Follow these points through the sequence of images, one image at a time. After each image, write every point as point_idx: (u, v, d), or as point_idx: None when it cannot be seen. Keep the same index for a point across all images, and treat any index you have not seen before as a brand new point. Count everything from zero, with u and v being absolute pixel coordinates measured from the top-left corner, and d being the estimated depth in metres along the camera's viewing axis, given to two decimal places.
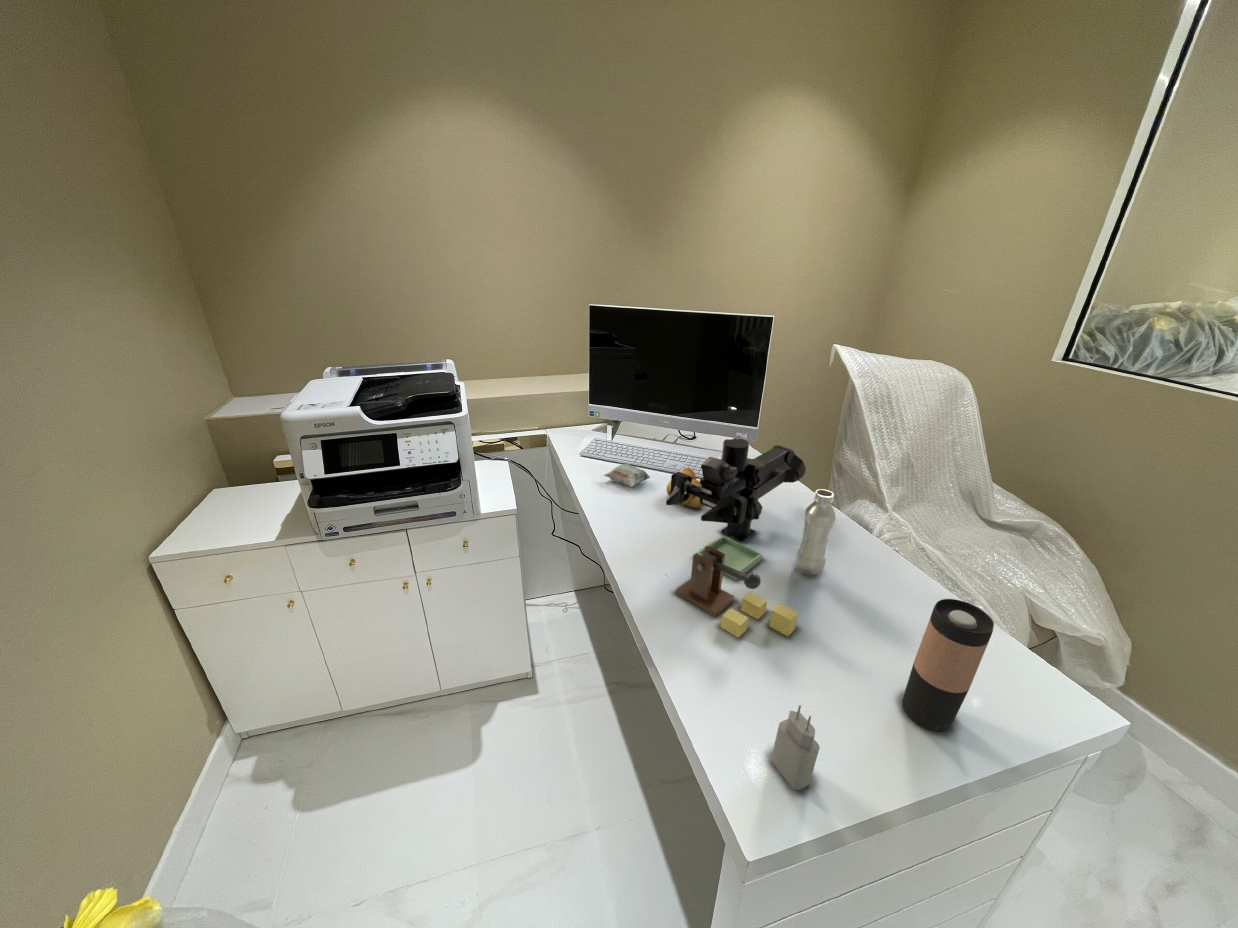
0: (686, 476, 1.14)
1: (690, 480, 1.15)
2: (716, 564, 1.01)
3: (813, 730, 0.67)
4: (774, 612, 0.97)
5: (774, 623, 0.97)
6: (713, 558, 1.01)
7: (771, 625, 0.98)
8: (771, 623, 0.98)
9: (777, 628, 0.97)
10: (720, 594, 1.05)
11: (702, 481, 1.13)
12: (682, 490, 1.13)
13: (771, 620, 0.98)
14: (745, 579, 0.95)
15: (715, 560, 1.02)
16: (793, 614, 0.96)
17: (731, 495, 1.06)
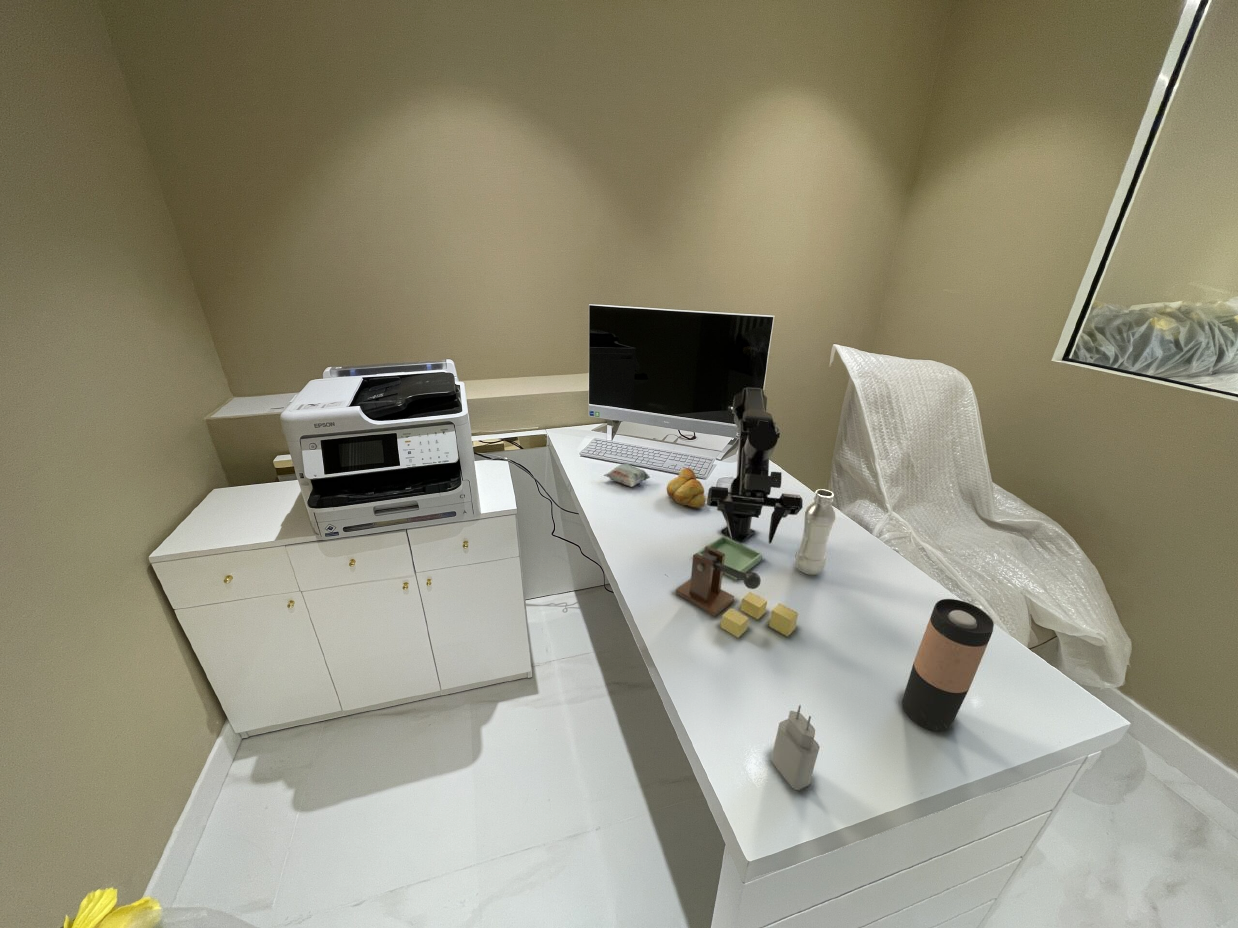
0: (725, 494, 1.02)
1: None
2: (716, 564, 1.01)
3: (813, 730, 0.67)
4: (774, 612, 0.97)
5: (774, 623, 0.97)
6: (713, 558, 1.01)
7: (771, 625, 0.98)
8: (771, 623, 0.98)
9: (777, 628, 0.97)
10: (720, 594, 1.05)
11: (744, 491, 1.03)
12: None
13: (771, 620, 0.98)
14: (745, 579, 0.95)
15: (715, 560, 1.02)
16: (793, 614, 0.96)
17: (787, 502, 1.00)
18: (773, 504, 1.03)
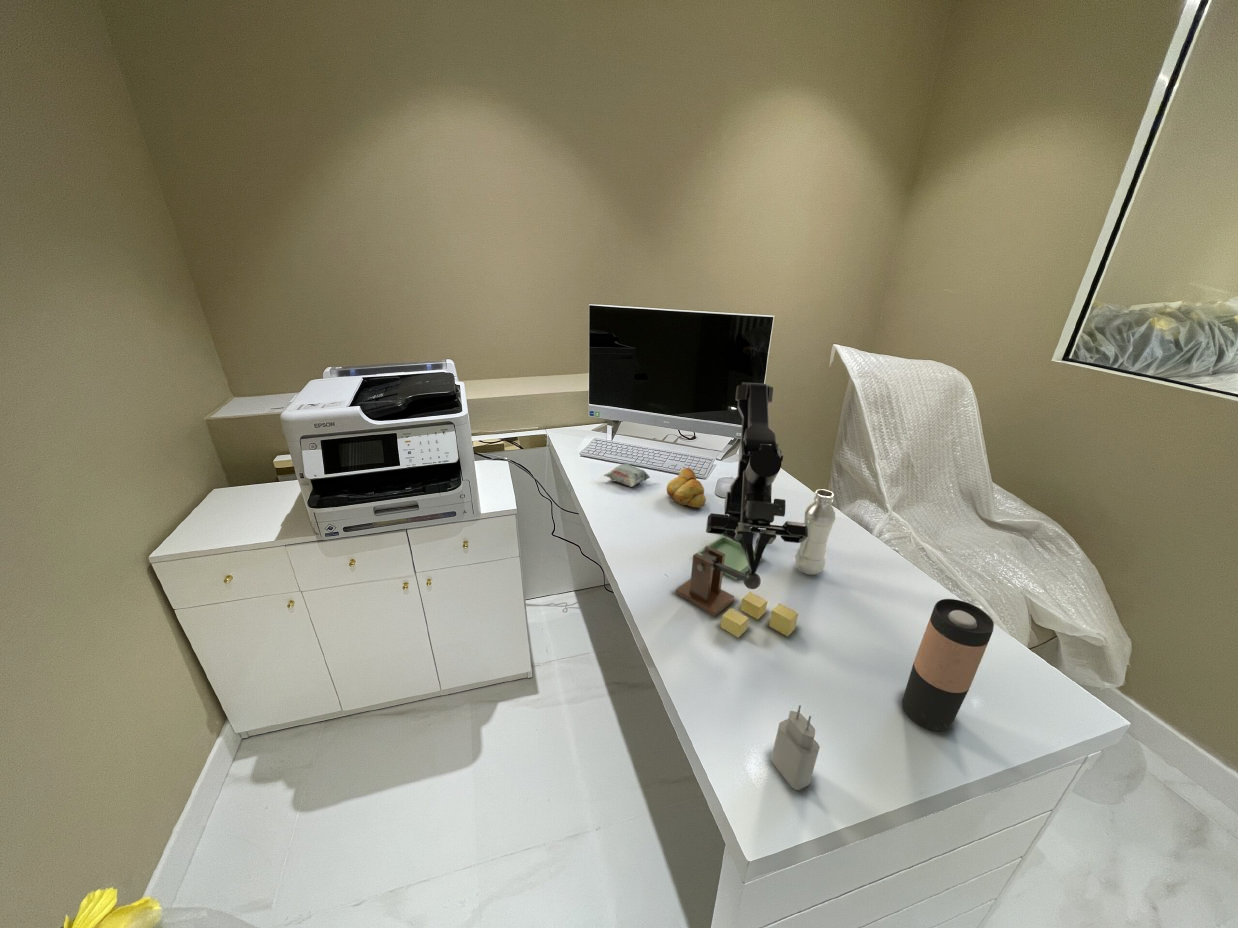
0: (726, 521, 0.96)
1: None
2: (716, 564, 1.01)
3: (813, 730, 0.67)
4: (774, 612, 0.97)
5: (774, 623, 0.97)
6: (713, 558, 1.01)
7: (771, 625, 0.98)
8: (771, 623, 0.98)
9: (777, 628, 0.97)
10: (720, 594, 1.05)
11: (745, 518, 0.96)
12: None
13: (771, 620, 0.98)
14: (745, 579, 0.95)
15: (715, 560, 1.02)
16: (793, 614, 0.96)
17: (792, 531, 0.94)
18: (758, 530, 0.98)
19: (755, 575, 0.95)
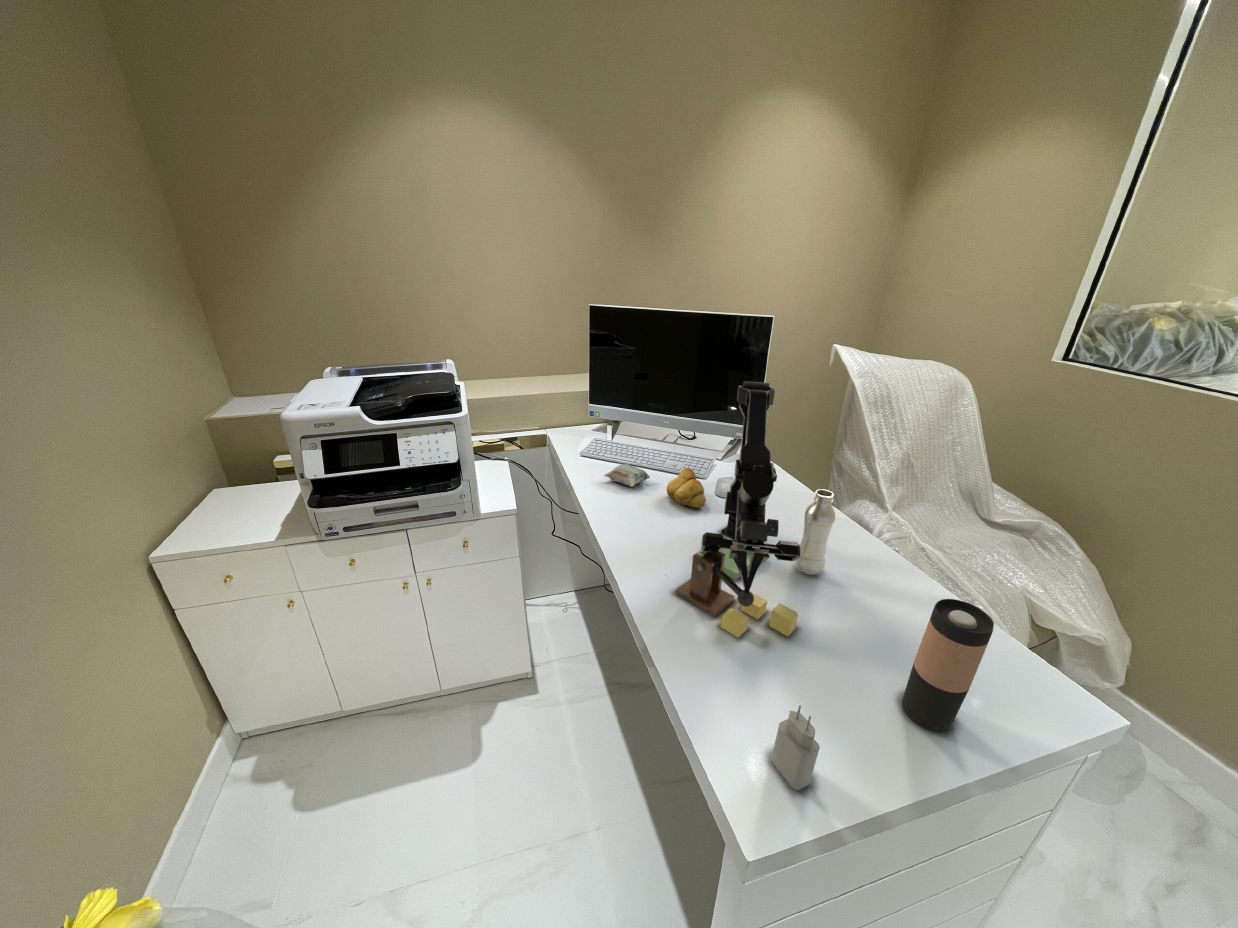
0: (720, 541, 0.98)
1: None
2: (716, 568, 1.01)
3: (813, 730, 0.67)
4: (774, 612, 0.97)
5: (774, 623, 0.97)
6: (715, 561, 1.01)
7: (771, 625, 0.98)
8: (771, 623, 0.98)
9: (777, 628, 0.97)
10: (720, 594, 1.05)
11: (739, 538, 0.99)
12: None
13: (771, 620, 0.98)
14: (740, 597, 0.97)
15: (716, 563, 1.02)
16: (793, 614, 0.96)
17: (785, 551, 0.96)
18: (752, 549, 1.00)
19: (751, 596, 0.97)
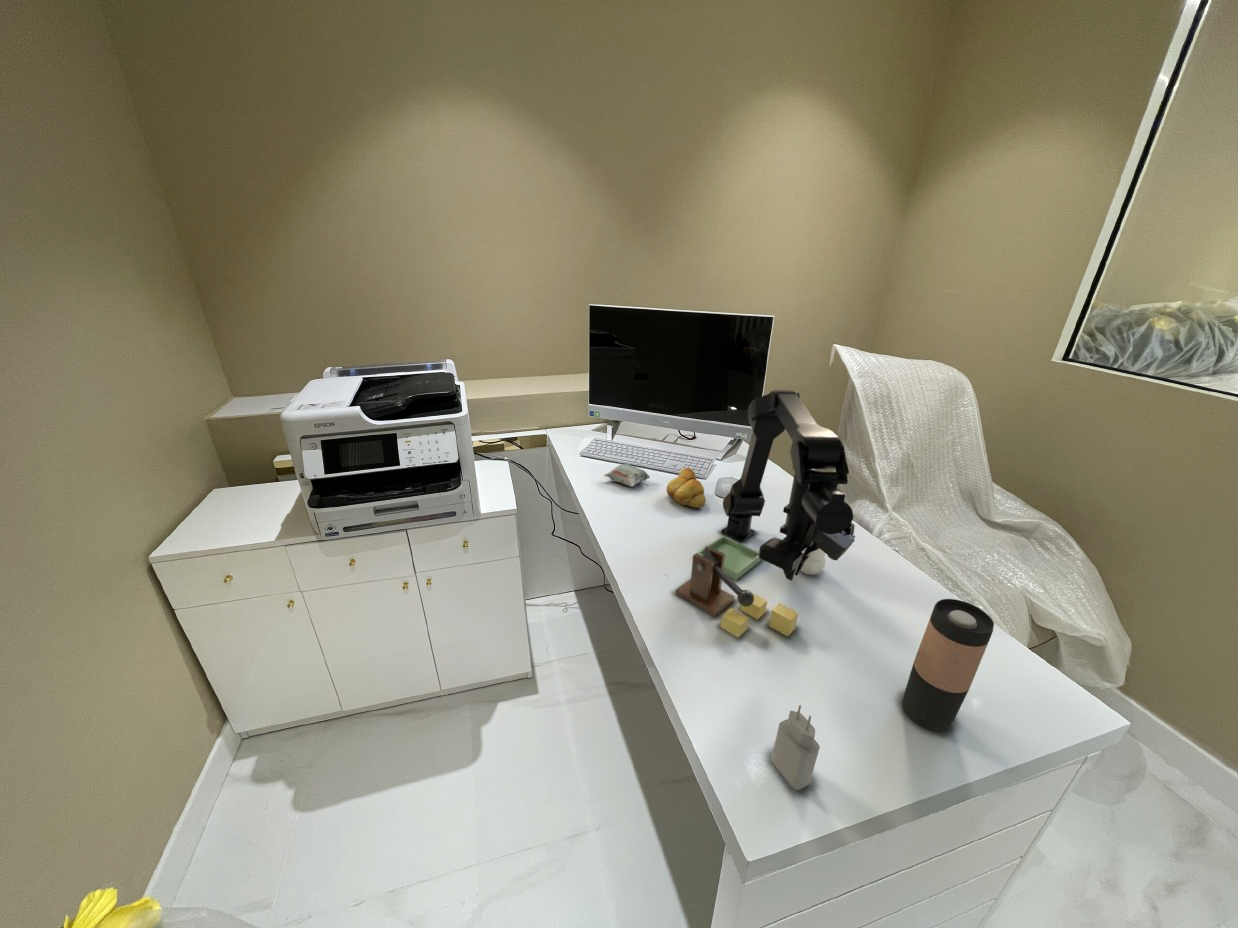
0: (800, 558, 0.84)
1: None
2: (716, 568, 1.01)
3: (813, 730, 0.67)
4: (774, 612, 0.97)
5: (774, 623, 0.97)
6: (715, 561, 1.01)
7: (771, 625, 0.98)
8: (771, 623, 0.98)
9: (777, 628, 0.97)
10: (720, 594, 1.05)
11: None
12: None
13: (771, 620, 0.98)
14: (740, 597, 0.97)
15: (716, 563, 1.02)
16: (793, 614, 0.96)
17: None
18: None
19: (751, 596, 0.97)
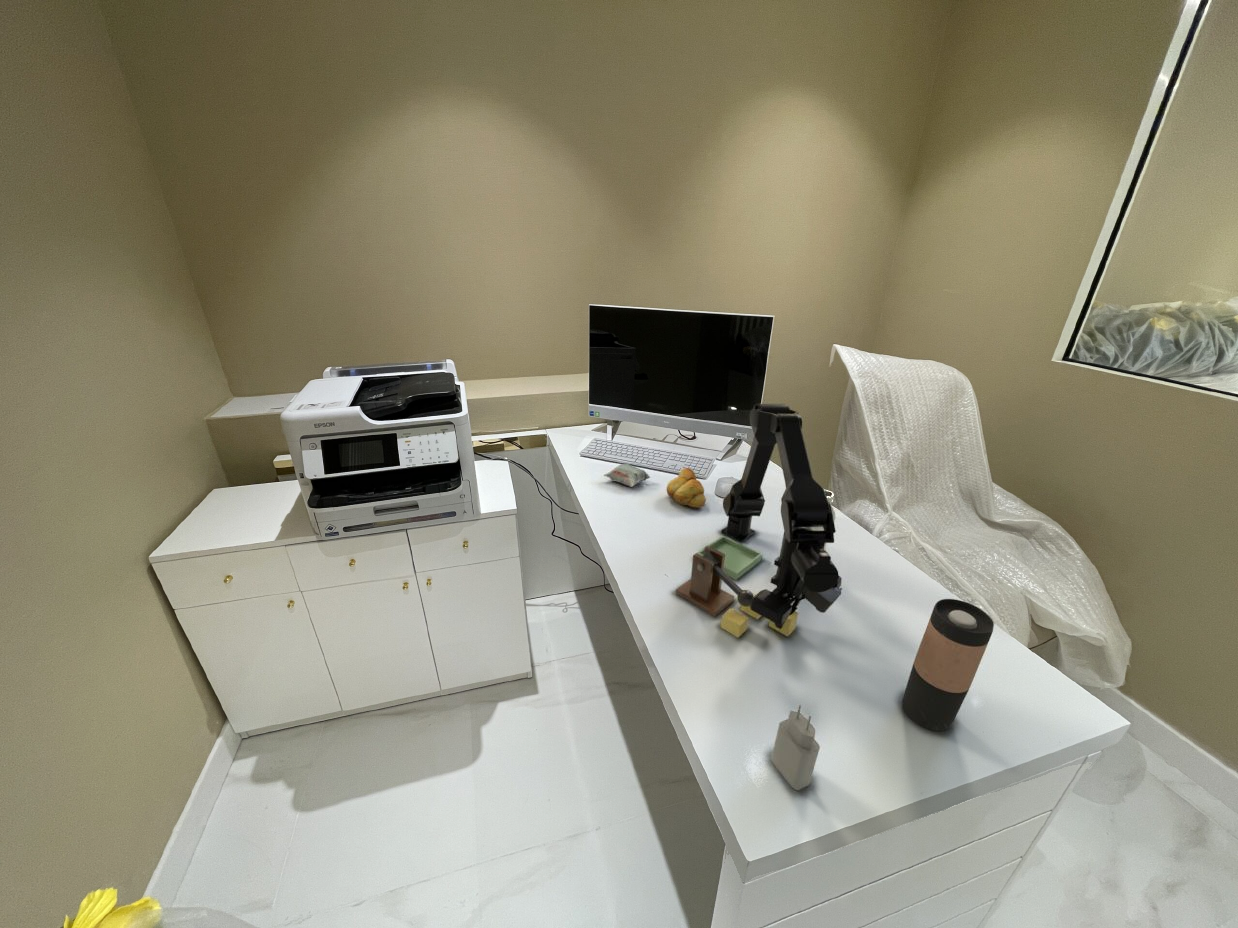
0: (790, 611, 0.89)
1: None
2: (716, 568, 1.01)
3: (813, 730, 0.67)
4: None
5: (774, 623, 0.97)
6: (715, 561, 1.01)
7: (771, 625, 0.98)
8: (771, 623, 0.98)
9: (777, 628, 0.97)
10: (720, 594, 1.05)
11: None
12: None
13: None
14: (740, 597, 0.97)
15: (716, 563, 1.02)
16: (793, 614, 0.96)
17: None
18: None
19: (751, 596, 0.97)
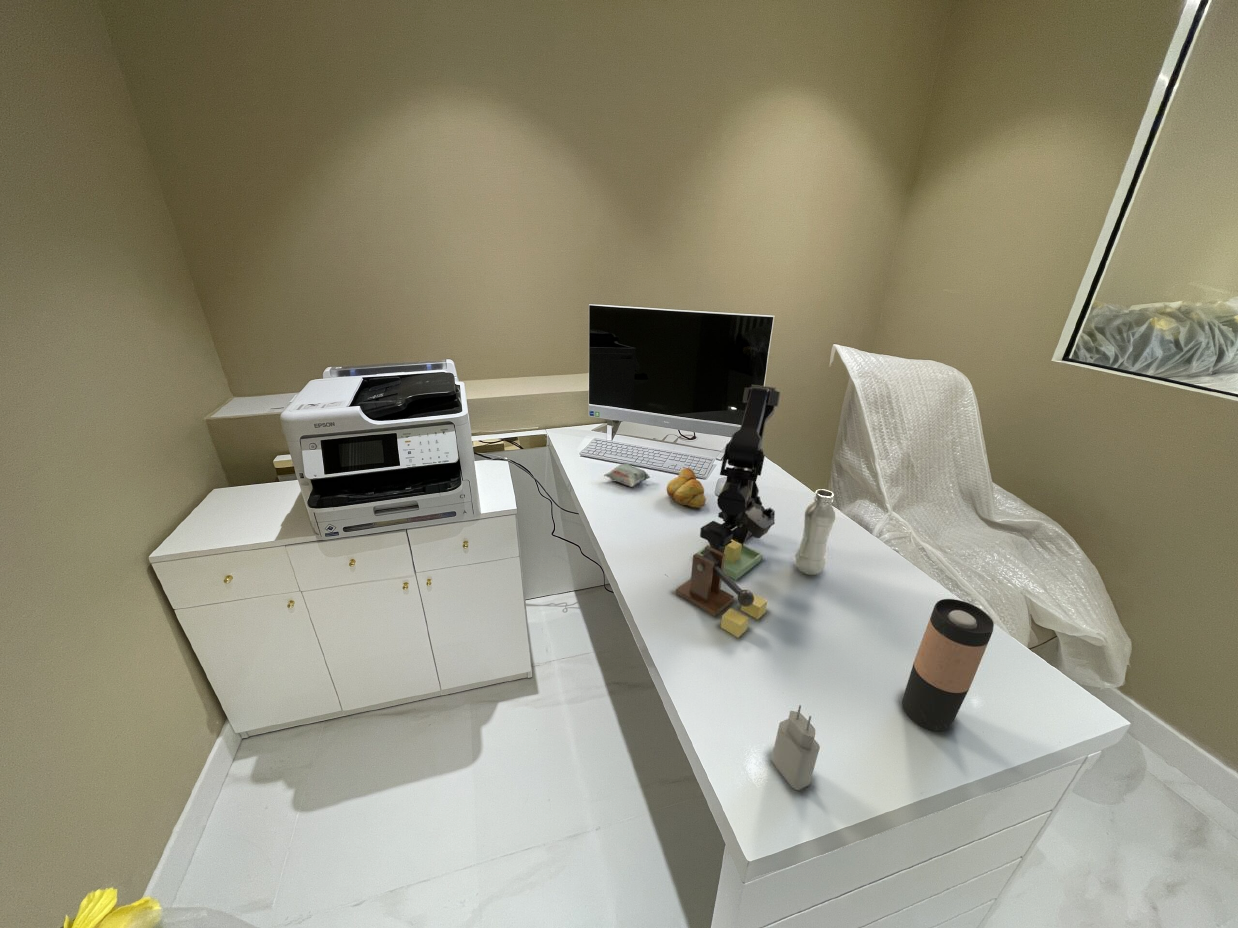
0: (731, 536, 1.09)
1: None
2: (716, 568, 1.01)
3: (813, 730, 0.67)
4: None
5: None
6: (715, 561, 1.01)
7: None
8: None
9: (725, 557, 1.18)
10: (720, 594, 1.05)
11: None
12: None
13: None
14: (740, 597, 0.97)
15: (716, 563, 1.02)
16: (737, 545, 1.16)
17: None
18: None
19: (751, 596, 0.97)
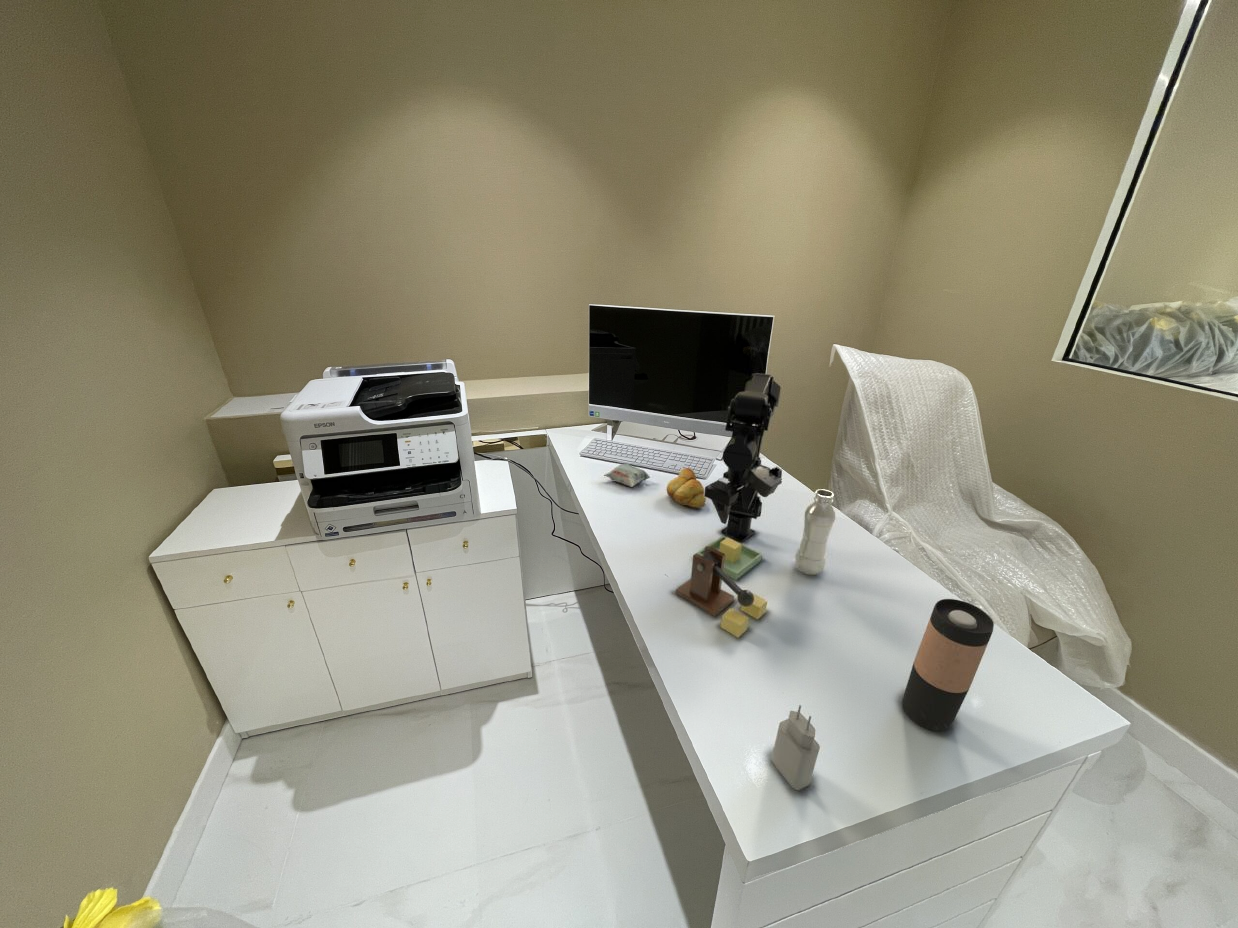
0: (737, 495, 1.05)
1: None
2: (716, 568, 1.01)
3: (813, 730, 0.67)
4: (722, 544, 1.17)
5: None
6: (715, 561, 1.01)
7: None
8: None
9: (725, 557, 1.18)
10: (720, 594, 1.05)
11: None
12: None
13: (720, 551, 1.18)
14: (740, 597, 0.97)
15: (716, 563, 1.02)
16: (737, 545, 1.16)
17: None
18: None
19: (751, 596, 0.97)
